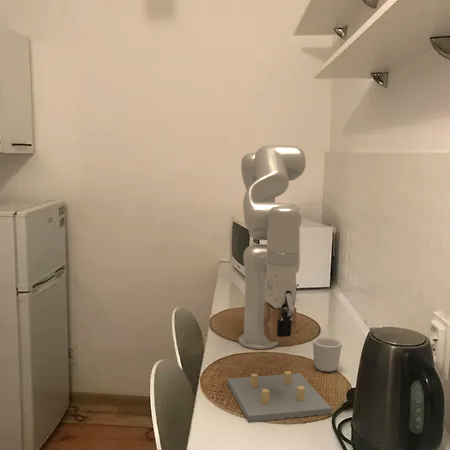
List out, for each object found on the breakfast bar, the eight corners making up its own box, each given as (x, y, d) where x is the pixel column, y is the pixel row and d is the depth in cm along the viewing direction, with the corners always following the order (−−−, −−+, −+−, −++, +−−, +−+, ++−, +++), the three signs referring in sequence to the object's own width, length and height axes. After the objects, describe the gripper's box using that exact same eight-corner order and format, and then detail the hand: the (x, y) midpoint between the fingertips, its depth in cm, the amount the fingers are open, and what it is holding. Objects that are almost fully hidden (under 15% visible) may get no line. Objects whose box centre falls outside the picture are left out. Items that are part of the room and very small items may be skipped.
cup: (325, 358, 158) (326, 332, 157) (349, 365, 153) (351, 338, 152) (306, 368, 149) (307, 341, 148) (331, 376, 144) (333, 348, 143)
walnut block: (263, 333, 131) (264, 302, 130) (286, 332, 132) (287, 301, 131) (270, 342, 125) (272, 309, 124) (294, 340, 126) (296, 308, 125)
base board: (227, 384, 138) (228, 367, 137) (299, 378, 143) (300, 362, 142) (248, 422, 119) (249, 403, 118) (331, 414, 123) (332, 396, 123)
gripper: (256, 251, 133) (254, 321, 136) (279, 266, 117) (276, 345, 119) (284, 251, 135) (281, 319, 138) (311, 265, 118) (307, 343, 121)
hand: (279, 330), depth 128 cm, fingers closed on walnut block, 6 cm apart
